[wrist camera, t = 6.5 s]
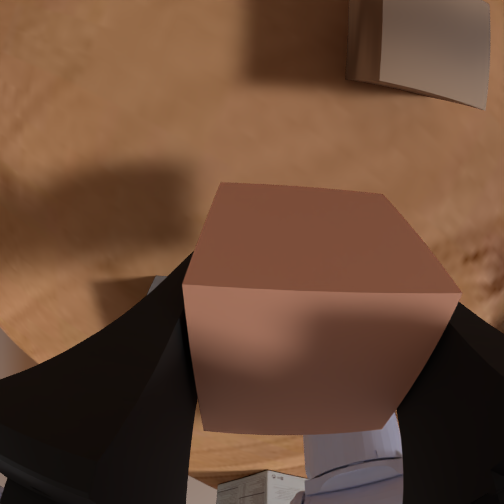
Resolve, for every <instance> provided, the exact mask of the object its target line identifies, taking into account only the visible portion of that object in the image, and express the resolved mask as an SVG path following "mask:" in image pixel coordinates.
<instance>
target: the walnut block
mask: <svg viewBox="0 0 504 504" xmlns="http://www.w3.org/2000/svg"><path fill="white" fill-rule="evenodd" d="M489 66H490V6H489V4H488V3H486V2H484V1H482V0H349V15H348V42H347V61H346V76H345V79H347V80H353V81H359V82H365V83H371V84H376V85H381V86H386V87H391V88H395V89H400V90H404V91H409V92H413V93H417V94H421V95H425V96H428V97H432V98H437V99H442V100H446V101H450V102H455V103H459V104H463V105H467V106H471V107H474V108H478V109H482V110H486V102H487V92H488V81H489Z"/></svg>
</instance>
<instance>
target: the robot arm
mask: <svg viewBox="0 0 504 504" xmlns="http://www.w3.org/2000/svg"><path fill="white" fill-rule="evenodd" d="M193 253H194V251H193V252H192V253H191V254H190V255H189V256H188V257H187V258H186V259H185V260H184V261H183V262H182V263H181V264H180V265H179V266H178V267H177V268H176V269H175V270H174V271H173V272H172V273H171V274H169V275H168V276H167V277H166V278H165V279H164V280H163V281H162V282H161V283H160V284H159V285H158V286H157V287H156V288H155V289H154V290H152V291H151V292H150V293H149V294H148V295H147V296H145V297H144V298H143V299H142V300H141V301H140V302H138V303H137V304H136V305H135V306H134V307H132V308H131V309H130V310H129V311H127V312H126V313H125V314H123V315H122V316H121V317H119V318H118V319H117V320H115V321H114V322H112V323H111V324H109V325H108V326H106V327H105V328H104V329H102V330H100V331H99V332H97V333H96V334H94V335H92V336H91V337H89V338H87V339H86V340H84V341H82V342H80V343H79V344H77V345H75V346H74V347H72V348H70V349H69V350H67V351H65V352H63V353H61V354H59V355H57V356H55V357H53V358H51V359H49V360H47V361H45V362H43V363H40V364H38V365H37V366H34V367H32V368H29V369H27V370H25V371H22V372H20V373H17V374H14V375H11V376H9V377H6V378H3V379H0V473H2V474H3V475H4V476H6V477H7V481H6V484H5V487H4V488H3V487H2V486H0V504H186V493H187V480H188V469H189V459H190V449H191V440H192V432H193V424H194V416H195V409H196V404H197V399H198V396H197V390H196V384H195V377H194V371H193V365H192V358H191V351H190V344H189V337H188V329H187V321H186V313H185V305H184V296H183V287H182V283H183V281H184V278H185V275H186V272H187V269H188V267H189V264H190V261H191V258H192V255H193ZM397 414H398V421H399V427H398V423H397V419H396V416H395V412H394V413H393V415H392V416H391V417H390V419H389V420H388V421H387V423H386V424H385V426H384V427H383V428H382V429H379V430H371V431H361V432H350V433H336V434H317V435H303V440H304V456H305V470H306V474H307V477H308V479H309V480H305V491H300V492H298V493H297V494H296V495H295V497H294V498H293V499H292V500H291V502H290V504H504V334H503V333H502V332H500V331H499V330H497V329H496V328H494V327H493V326H491V325H490V324H488V323H487V322H485V321H484V320H482V319H481V318H480V317H478V316H477V315H476V314H474V313H473V312H472V311H470V310H469V309H468V308H466V307H465V306H464V305H462V304H461V303H460V302H458V304H457V306H456V308H455V310H454V312H453V314H452V316H451V318H450V320H449V322H448V324H447V326H446V328H445V330H444V332H443V334H442V336H441V338H440V339H439V341H438V343H437V345H436V347H435V349H434V350H433V352H432V354H431V356H430V357H429V359H428V361H427V362H426V364H425V366H424V367H423V369H422V371H421V372H420V374H419V376H418V377H417V379H416V380H415V382H414V384H413V385H412V387H411V388H410V390H409V391H408V393H407V394H406V396H405V397H404V399H403V400H402V402H401V403H400V405H399V406H398V408H397ZM399 428H400V431H399Z"/></svg>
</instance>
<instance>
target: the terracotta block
mask: <svg viewBox="0 0 504 504" xmlns="http://www.w3.org/2000/svg"><path fill="white" fill-rule="evenodd" d="M182 287H183V296H184V305H185V313H186V321H187V329H188V337H189V344H190V351H191V358H192V365H193V371H194V377H195V384H196V390H197V396H198V402H199V407H200V413H201V418H202V424H203V429H204V431H212V432H223V433H237V434H257V435H317V434H336V433H350V432H361V431H371V430H379V429H382V428H383V427H384V426H385V424H386V423H387V421H388V420H389V419H390V417H391V416H392V415H393V413H394V412H395V410H396V409H397V408H398V406H399V405H400V403H401V402H402V400H403V399H404V397H405V396H406V394H407V393H408V391H409V390H410V388H411V387H412V385H413V384H414V382H415V380H416V379H417V377H418V376H419V374H420V372H421V371H422V369H423V367H424V366H425V364H426V362H427V361H428V359H429V357H430V356H431V354H432V352H433V350H434V349H435V347H436V345H437V343H438V341H439V339H440V338H441V336H442V334H443V332H444V330H445V328H446V326H447V324H448V322H449V320H450V318H451V316H452V314H453V312H454V310H455V308H456V306H457V304H458V302H459V300H460V297H461V295H462V292H461V290H460V289H459V288H458V286H457V285H456V283H455V282H454V281H453V279H452V278H451V277H450V275H449V274H448V272H447V271H446V270H445V268H444V267H443V266H442V264H441V263H440V262H439V261H438V259H437V258H436V257H435V255H434V254H433V253H432V251H431V250H430V249H429V248H428V246H427V245H426V244H425V243H424V241H423V240H422V239H421V238H420V237H419V235H418V234H417V233H416V232H415V230H414V229H413V228H412V227H411V226H410V224H409V223H408V222H407V221H406V220H405V219H404V217H403V216H402V215H401V214H400V213H399V212H398V210H397V209H396V208H395V207H394V206H393V205H392V204H391V203H390V201H389V200H388V199H387V198H386V197H385V196H384V195H383V194H376V193H367V192H357V191H347V190H336V189H324V188H312V187H298V186H284V185H266V184H246V183H220V185H219V187H218V190H217V192H216V195H215V197H214V200H213V203H212V205H211V208H210V210H209V213H208V215H207V218H206V221H205V223H204V226H203V229H202V231H201V234H200V237H199V239H198V242H197V245H196V247H195V250H194V253H193V255H192V258H191V261H190V264H189V267H188V269H187V272H186V275H185V278H184V281H183V283H182Z"/></svg>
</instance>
